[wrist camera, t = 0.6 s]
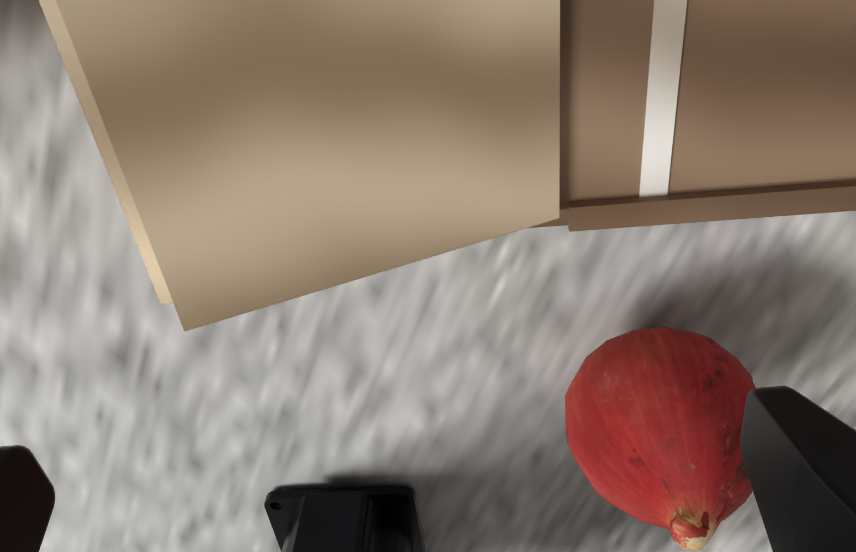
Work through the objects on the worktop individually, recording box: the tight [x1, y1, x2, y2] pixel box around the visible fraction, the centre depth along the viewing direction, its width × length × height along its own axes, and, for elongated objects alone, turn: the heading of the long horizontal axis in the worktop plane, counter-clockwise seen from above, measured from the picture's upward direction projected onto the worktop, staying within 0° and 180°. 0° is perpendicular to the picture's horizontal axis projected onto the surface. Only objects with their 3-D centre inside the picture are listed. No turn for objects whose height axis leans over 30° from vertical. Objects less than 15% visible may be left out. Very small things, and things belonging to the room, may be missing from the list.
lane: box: [528, 0, 856, 231], centre depth 17 cm, size 11×23×3 cm, turn 96°
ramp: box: [39, 0, 560, 331], centre depth 16 cm, size 10×11×6 cm
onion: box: [565, 327, 755, 551], centre depth 20 cm, size 6×6×8 cm
